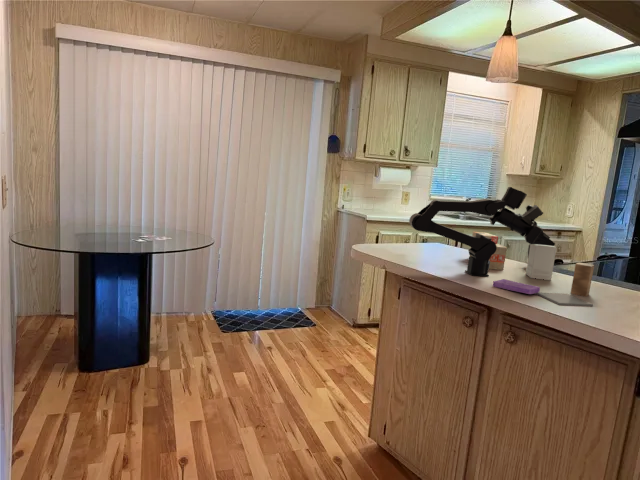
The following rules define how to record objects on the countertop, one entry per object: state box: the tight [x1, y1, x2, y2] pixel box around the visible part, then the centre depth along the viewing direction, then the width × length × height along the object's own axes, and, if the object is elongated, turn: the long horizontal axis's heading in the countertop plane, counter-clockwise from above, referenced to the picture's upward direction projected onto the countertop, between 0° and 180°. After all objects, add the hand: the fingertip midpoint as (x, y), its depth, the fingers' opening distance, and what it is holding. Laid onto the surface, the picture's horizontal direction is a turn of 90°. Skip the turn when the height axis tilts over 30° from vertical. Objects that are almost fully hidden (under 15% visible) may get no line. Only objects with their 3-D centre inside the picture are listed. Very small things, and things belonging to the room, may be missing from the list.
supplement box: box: [525, 244, 557, 281], centre depth 166 cm, size 7×7×13 cm
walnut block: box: [570, 262, 595, 298], centre depth 145 cm, size 4×4×10 cm
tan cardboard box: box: [469, 231, 508, 271], centre depth 185 cm, size 21×6×12 cm, turn 2°
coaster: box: [535, 291, 594, 307], centre depth 136 cm, size 11×11×1 cm
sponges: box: [492, 278, 541, 295], centre depth 144 cm, size 7×13×2 cm, turn 39°
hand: (551, 241), depth 157 cm, fingers open, 9 cm apart
